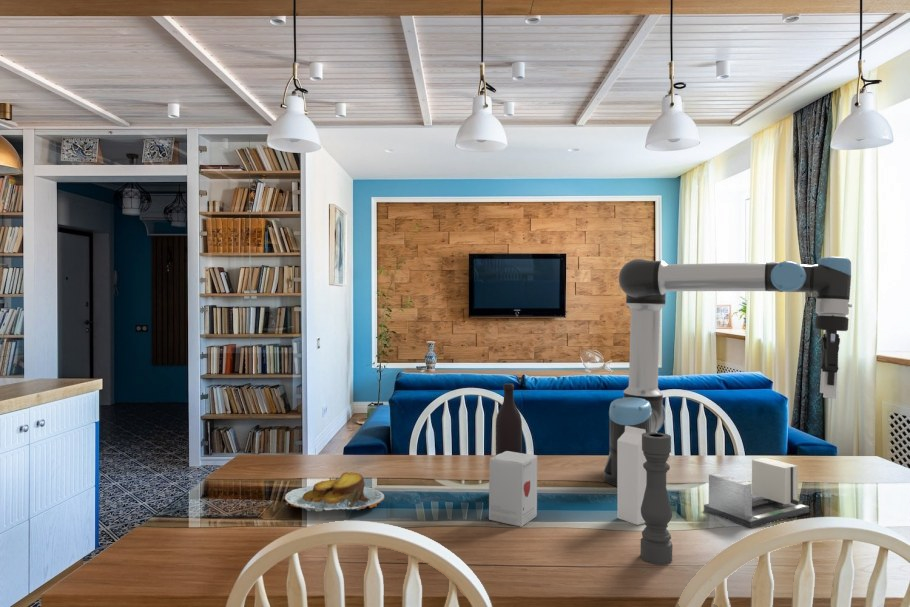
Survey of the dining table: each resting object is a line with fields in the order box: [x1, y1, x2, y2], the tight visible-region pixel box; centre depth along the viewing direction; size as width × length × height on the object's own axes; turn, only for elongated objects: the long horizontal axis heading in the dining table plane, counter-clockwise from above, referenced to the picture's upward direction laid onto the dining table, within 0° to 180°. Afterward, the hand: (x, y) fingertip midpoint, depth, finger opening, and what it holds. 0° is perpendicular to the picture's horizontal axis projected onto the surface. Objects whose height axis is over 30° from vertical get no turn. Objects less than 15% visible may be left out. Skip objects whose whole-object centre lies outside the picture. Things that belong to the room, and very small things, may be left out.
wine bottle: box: [495, 383, 523, 456], centre depth 165 cm, size 7×7×30 cm
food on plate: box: [284, 471, 385, 513], centre depth 158 cm, size 25×25×7 cm
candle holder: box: [640, 432, 673, 566], centre depth 124 cm, size 6×6×25 cm
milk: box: [616, 426, 647, 526], centre depth 147 cm, size 6×6×22 cm
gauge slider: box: [751, 457, 800, 505], centre depth 154 cm, size 5×11×9 cm, turn 28°
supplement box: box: [488, 451, 538, 528], centre depth 147 cm, size 9×9×15 cm
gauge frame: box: [703, 472, 810, 529], centre depth 152 cm, size 22×13×10 cm, turn 118°
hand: (827, 395), depth 162 cm, fingers open, 13 cm apart
